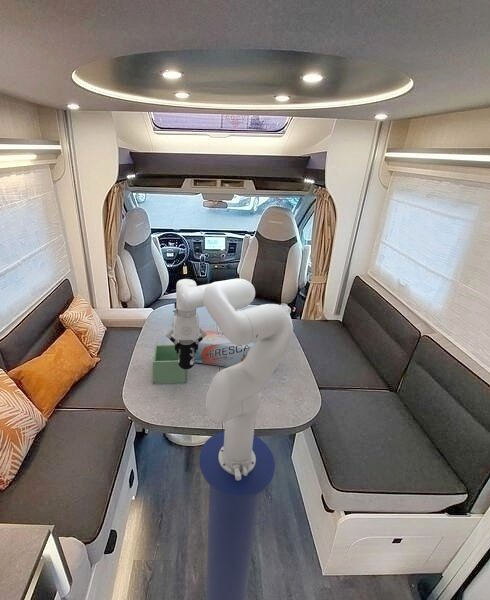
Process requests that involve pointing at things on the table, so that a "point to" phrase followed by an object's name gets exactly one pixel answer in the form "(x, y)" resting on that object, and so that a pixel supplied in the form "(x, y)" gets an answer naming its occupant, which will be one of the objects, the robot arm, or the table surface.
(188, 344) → the beverage can
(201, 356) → the soda box
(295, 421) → the table surface
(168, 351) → the trash bin
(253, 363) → the robot arm
